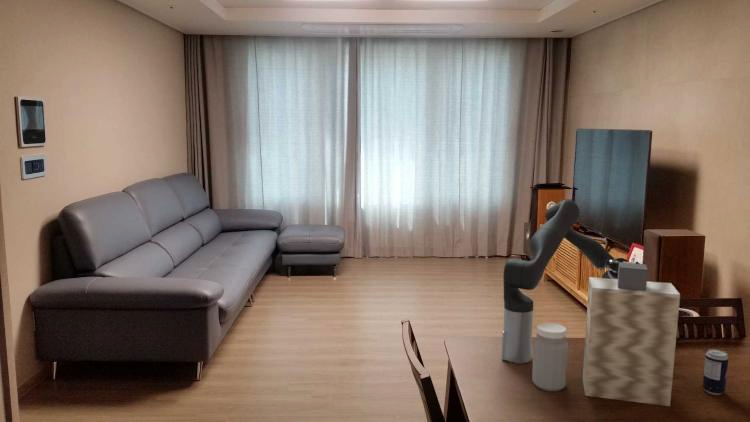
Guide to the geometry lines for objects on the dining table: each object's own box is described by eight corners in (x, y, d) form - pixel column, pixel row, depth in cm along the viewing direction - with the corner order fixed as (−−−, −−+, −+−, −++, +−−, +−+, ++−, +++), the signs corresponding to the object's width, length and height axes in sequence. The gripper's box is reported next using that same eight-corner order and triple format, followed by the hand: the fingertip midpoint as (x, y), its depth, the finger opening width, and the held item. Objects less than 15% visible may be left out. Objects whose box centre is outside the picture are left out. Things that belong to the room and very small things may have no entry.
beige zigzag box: (585, 395, 163) (592, 287, 158) (582, 378, 174) (589, 277, 169) (669, 406, 157) (680, 294, 152) (661, 388, 168) (671, 283, 163)
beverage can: (727, 397, 163) (732, 357, 161) (706, 395, 164) (710, 355, 162) (720, 388, 168) (724, 349, 166) (699, 386, 169) (703, 347, 167)
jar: (524, 381, 172) (527, 324, 169) (550, 375, 176) (553, 319, 173) (546, 395, 164) (549, 335, 161) (573, 389, 167) (576, 330, 164)
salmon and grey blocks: (645, 291, 155) (647, 269, 154) (618, 288, 158) (619, 267, 157) (641, 272, 174) (642, 253, 173) (616, 270, 176) (617, 251, 175)
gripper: (598, 257, 204) (600, 250, 189) (642, 261, 199) (647, 254, 184) (597, 278, 203) (598, 272, 188) (641, 282, 198) (646, 277, 183)
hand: (622, 263), depth 186 cm, fingers open, 8 cm apart
